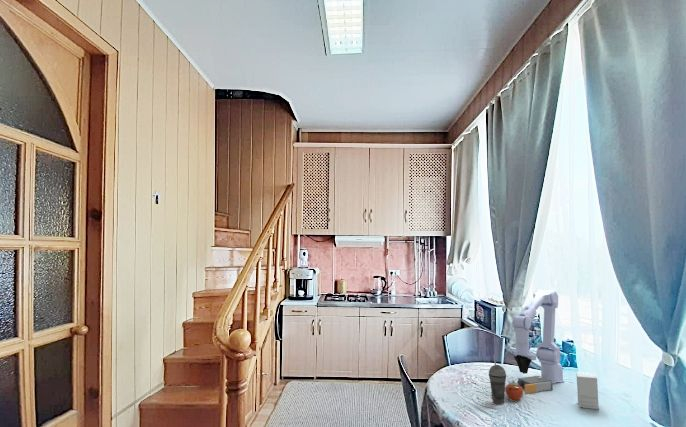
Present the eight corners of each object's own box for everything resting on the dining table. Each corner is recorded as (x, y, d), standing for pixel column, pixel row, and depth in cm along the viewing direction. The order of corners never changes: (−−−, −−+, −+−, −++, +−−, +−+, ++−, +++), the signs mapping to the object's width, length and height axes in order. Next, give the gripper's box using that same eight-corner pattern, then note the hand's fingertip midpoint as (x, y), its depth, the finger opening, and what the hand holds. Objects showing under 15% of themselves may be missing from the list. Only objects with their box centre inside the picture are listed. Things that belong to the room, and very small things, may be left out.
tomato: (505, 401, 194) (504, 382, 194) (505, 395, 201) (504, 377, 201) (523, 403, 191) (523, 383, 192) (523, 397, 198) (522, 378, 199)
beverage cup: (505, 406, 187) (503, 357, 188) (487, 403, 191) (485, 355, 192) (509, 401, 193) (507, 353, 195) (491, 398, 197) (490, 351, 198)
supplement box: (597, 404, 189) (595, 373, 190) (599, 410, 182) (597, 378, 183) (577, 401, 192) (576, 371, 193) (578, 407, 185) (576, 376, 186)
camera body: (539, 384, 216) (538, 374, 216) (552, 389, 208) (551, 379, 209) (516, 387, 212) (516, 377, 212) (528, 392, 204) (528, 382, 205)
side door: (551, 388, 208) (551, 381, 208) (553, 389, 207) (552, 381, 207) (524, 392, 203) (524, 384, 203) (526, 393, 202) (526, 385, 202)
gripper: (504, 340, 213) (505, 369, 212) (526, 346, 199) (527, 378, 198) (517, 338, 215) (518, 368, 214) (539, 345, 201) (540, 376, 200)
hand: (523, 372), depth 206 cm, fingers closed
